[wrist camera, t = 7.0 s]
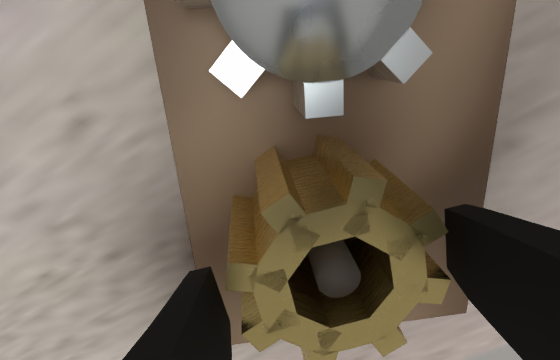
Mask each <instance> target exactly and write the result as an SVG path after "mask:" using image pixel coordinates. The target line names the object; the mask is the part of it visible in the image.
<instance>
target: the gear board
mask: <svg viewBox="0 0 560 360" xmlns="http://www.w3.org/2000/svg"><path fill="white" fill-rule="evenodd" d="M144 4H145V9H146V15H147V20H148V25H149V30H150V35H151V40H152V46H153V51H154V56H155V61H156V66H157V71H158V77H159V82H160V87H161V92H162V97H163V103H164V108H165V113H166V118H167V123H168V128H169V134H170V139H171V144H172V149H173V154H174V159H175V165H176V170H177V175H178V180H179V185H180V191H181V196H182V201H183V206H184V211H185V216H186V222H187V227H188V232H189V237H190V242H191V247H192V253H193V258H194V263H195V268H196V270H197V269H201V268H205V267H209V266H211V268H212V271H213V274H214V277H215V280H216V282H217V285H218V288H219V291H220V294H221V297H222V299H223V302H224V305H225V308H226V311H227V314H228V316H229V319H230V325H231V345H234V344H241V343H248V342H249V341H248V340H247V339H245V338H244V337H243V336H242V335H241V317H242V291H227V290H225V284H226V270H227V256H228V242H229V227H230V214H231V206H232V198H233V195H237V196H246V197H253V196H254V194H255V193H256V191H257V190H258V186H257V177H256V168H255V159H256V158H257V157H259V156H260V155H261V154H263V153H264V152H265V151H267V150H268V149H270V148H271V147H272V146H275V147H276V149H277V150H278V151H279V153H280V154H281V155H282V157H283V158H284V159H285V160H286V161H288V160H292V159H295V158H299V157H303V156H307V155H311V154H313V153H314V148H315V143H316V138H317V134H320V135H327V136H334V137H341V138H342V139H343V140H344V141H345V142H346V143H347V144H348V145H349V146H350V147H352V148H353V149H354V150H355V151H356V152H357V153H358V154H359V155H360V156H361V157H362V158H363V159H365V160H366V161H367V162H368V163H369V162H370V161H372V160H373V159H376V160H377V161H378V162H380V163H381V164H382V165H383V166H384V167H385V168H387V169H388V170H389V171H390V172H391V173H393V174H394V175H395V176H396V177H397V178H399V179H400V180H401V181H402V182H403V183H404V184H406V185H407V186H408V187H409V188H410V189H412V190H413V191H414V192H415V193H416V194H417V195H419V196H420V197H421V198H422V199H423V200H425V201H426V202H427V203H428V204H429V205H431V206H432V207H433V208H434V209H435V210H436V212H437V214H438V215H439V217H440V219H441V220H442V222H443V224H444V225H445V211H444V209H446V208H450V207H454V206H459V205H463V204H469V205H473V206H477V207H481V208H483V205H484V199H485V192H486V186H487V180H488V174H489V168H490V161H491V155H492V149H493V143H494V137H495V130H496V124H497V118H498V112H499V105H500V99H501V93H502V87H503V81H504V74H505V68H506V62H507V56H508V50H509V43H510V37H511V31H512V25H513V19H514V12H515V6H516V0H423V2H422V5H421V7H420V9H419V11H418V13H417V15H416V17H415V20H414V21H413V23H412V24H411V26H410V27H411V29H412V30H413V31H414V32H415V33H416V34H417V35H418V36H419V38H420V39H421V40H422V41H423V42H424V43H425V44H426V46H427V47H428V48H429V49H430V50H431V51H432V52H433V53H432V54H431V55H430V56H429V58H428V59H427V60H426V61H425V62H424V63H423V64H422V65H421V66H420V67H419V68H418V69H417V71H416V72H415V73H414V74H413V75H412V76H411V77H410V78H409V79H408V80H407V81H406V82H405V84H401V83H397V82H392V81H388V80H384V79H379V78H375V77H373V76H372V75H371V74H370V73H369V72H368V71H367V70H365V71H363V72H361V73H359V74H357V75H354V76H352V77H350V78H346V79H343V99H344V115H341V116H330V117H319V118H308V119H306V118H305V117H304V116H303V115H302V114H301V113H300V112H299V111H298V109H297V108H296V107H295V106H294V98H293V81H292V80H288V79H285V78H282V77H280V76H277V75H275V74H272V73H270V72H269V71H267V70H264V71H263V72H262V74H261V75H260V76H259V77H258V79H257V80H256V81H255V82H254V84H253V85H252V86H251V87H250V88H249V90H248V91H247V92H246V93H245V95H244V96H243V97H242V98H241V97H239V96H238V95H237V94H236V93H235V92H233V91H232V90H231V89H230V88H229V87H227V86H226V85H225V84H224V83H223V82H221V81H220V80H219V79H218V78H217V77H215V76H214V75H213V74H212V73H211V72H209V70H210V69H211V67H212V66H213V65H214V63H215V62H216V61H217V60H218V58H219V57H220V56H221V54H222V53H223V52H224V50H225V49H226V48H227V46H228V45H229V44H230V43H231V41H232V39H231V38H230V37H229V35H228V34H227V32H226V31H225V29H224V27H223V26H222V24H221V22H220V21H219V19H218V16H217V14H216V12H215V10H214V7H203V8H189V9H184V8H182V7H180V6H179V5H177V4H176V3H174V2H173V1H171V0H144ZM425 251H426V252H427V253H428V254H429V256H430V257H431V258H432V259H433V260H434V261H435V262H436V263H437V264H438V266H439V267H440V268H441V269H442V270H443V271H444V272H445V273H446V274H447V276H448V277H449V278H450V279H451V282H450V284H449V287H448V289H447V292H446V294H445V297H444V299H443V302H442V304H429V303H417V305H416V306H415V307H414V308H413V309H412V310H411V312H410V313H409V314H408V315H407V316H406V317H405V318H404V320H403V321H410V320H418V319H425V318H432V317H440V316H447V315H454V314H462V313H466V310H467V304H468V298H467V297H466V295H465V294H464V292H463V291H462V290H461V288H460V287H459V285H458V284H457V282H456V281H455V279H454V278H453V276H452V275H451V273H450V272H449V270H448V269H447V262H446V236H445V235H443V236H442V237H440V238H438V239H437V240H435V241H434V242H432V243H431V244H429V245H427V246H426V247H425ZM307 254H308V257H309V260H310V263H311V266H312V269H313V273H314V276H315V279H316V282H317V285H318V288H319V290H320V291H321V292H322V293H323V294H324V295H326V296H328V297H333V298H339V297H344V296H347V295H349V294H350V293H352V292H353V291H354V290H355V289H356V288H357V287H358V285H359V283H360V280H361V273H360V270H359V268H358V266H357V265H356V263H355V261H354V259H353V257H352V255H351V253H350V251H349V249H348V247H347V246H346V244H345V242H344V240H339V241H336V242H332V243H328V244H324V245H320V246H316V247H313V248H311V249H310V251H309V252H308V253H307ZM403 321H402V322H403Z"/></svg>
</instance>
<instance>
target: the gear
mask: <svg viewBox="0 0 560 360" xmlns="http://www.w3.org/2000/svg"><path fill="white" fill-rule="evenodd" d="M171 1H173V2H174V3H176V4H177V5H179V6H180V7H182V8H184V9H189V8H203V7H214V10H215V12H216V14H217V16H218V19H219V21H220V22H221V24H222V26H223V27H224V29H225V31H226V32H227V34H228V35H229V37H230V38H231V39H232V41H231V43H230V44H229V45H228V46H227V48H226V49H225V50H224V52H223V53H222V54H221V56H220V57H219V58H218V60H217V61H216V62H215V63H214V65H213V66H212V67H211V69H210V70H209V72H211V73H212V74H213V75H214V76H215V77H217V78H218V79H219V80H220V81H221V82H223V83H224V84H225V85H226V86H227V87H229V88H230V89H231V90H232V91H233V92H235V93H236V94H237V95H238V96H239V97H241V98H242V97H243V96H244V95H245V93H246V92H247V91H248V90H249V88H250V87H251V86H252V85H253V84H254V82H255V81H256V80H257V79H258V77H259V76H260V75H261V74H262V72H263V71H264V70H267V71H269V72H270V73H272V74H275V75H277V76H280V77H282V78H285V79H288V80H292V81H293V98H294V106H295V107H296V108H297V109H298V111H299V112H300V113H301V114H302V115H303V116H304V117H305V118H306V119H308V118H319V117H330V116H341V115H344V99H343V79H346V78H350V77H352V76H354V75H357V74H359V73H361V72H363V71H365V70H367V71H368V72H369V73H370V74H371V75H372V76H373V77H375V78H379V79H384V80H388V81H392V82H397V83H401V84H405V82H406V81H407V80H408V79H409V78H410V77H411V76H412V75H413V74H414V73H415V72H416V71H417V69H418V68H419V67H420V66H421V65H422V64H423V63H424V62H425V61H426V60H427V59H428V58H429V56H430V55H431V54H432V53H433V52H432V51H431V50H430V49H429V48H428V47H427V46H426V44H425V43H424V42H423V41H422V40H421V39H420V38H419V36H418V35H417V34H416V33H415V32H414V31H413V30H412V29H411V27H410V26H411V24H412V23H413V21H414V20H415V17H416V15H417V13H418V11H419V9H420V7H421V5H422V2H423V0H171Z"/></svg>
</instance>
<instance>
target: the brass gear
mask: <svg viewBox="0 0 560 360" xmlns="http://www.w3.org/2000/svg"><path fill="white" fill-rule="evenodd" d="M255 168H256V177H257V186H258V190H257V191H256V193H255V194H254V196H253V197H246V196H237V195H233V198H232V206H231V214H230V227H229V242H228V256H227V270H226V284H225V290H227V291H242V317H241V335H242V336H243V337H244V338H245V339H247V340H248V341H249V342H250V343H251V344H252V345H253V346H254V347H255V348H256V349H257V350H258V351H259V352H261V351H262V350H264V349H266V348H267V347H269V346H270V345H272V344H273V343H275V342H277V341H278V340H280V339H282V340H285V341H287V342H290V343H292V344H295V345H297V346H300V347H301V349H302V354H303V359H304V360H336V358H337V354H338V352H339V351H343V350H347V349H351V348H354V347H358V346H362V345H366V344H370V343H372V344H373V345H374V346H375V348H376V349H377V350H378V351H379V352H380V353H381V355H382V356H383V357H384V356H385V355H387V354H389V353H390V352H392V351H394V350H396V349H397V348H399V347H401V346H402V345H404V344H406V343H407V340H406V339H405V337H404V335H403V333H402V331H401V330H400V328H399V326H398V325H399V324H400V323H401V322H402V321H403V320H404V318H405V317H406V316H407V315H408V314H409V313H410V312H411V310H412V309H413V308H414V307H415V306H416V305H417V303H429V304H442V302H443V299H444V297H445V294H446V292H447V289H448V287H449V284H450V282H451V279H450V278H449V277H448V276H447V274H446V273H445V272H444V271H443V270H442V269H441V268H440V267H439V266H438V264H437V263H436V262H435V261H434V260H433V259H432V258H431V257H430V256H429V254H428V253H427V252H426V251H425V247H426V246H427V245H429V244H431V243H432V242H434V241H435V240H437V239H438V238H440V237H442V236H443V235H445V234H446V233H448V230H447V229H446V227H445V225H444V224H443V222H442V220H441V219H440V217H439V215H438V214H437V212H436V210H435V209H434V208H433V207H432V206H431V205H429V204H428V203H427V202H426V201H425V200H423V199H422V198H421V197H420V196H419V195H417V194H416V193H415V192H414V191H413V190H412V189H410V188H409V187H408V186H407V185H406V184H404V183H403V182H402V181H401V180H400V179H399V178H397V177H396V176H395V175H394V174H393V173H391V172H390V171H389V170H388V169H387V168H385V167H384V166H383V165H382V164H381V163H380V162H378V161H377V160H376V159H373V160H372V161H370V162H369V163H368V162H367V161H366V160H365V159H363V158H362V157H361V156H360V155H359V154H358V153H357V152H356V151H355V150H354V149H353V148H352V147H350V146H349V145H348V144H347V143H346V142H345V141H344V140H343V139H342V138H341V137H334V136H327V135H320V134H317V138H316V143H315V148H314V153H313V154H311V155H307V156H303V157H299V158H295V159H292V160H288V161H286V160H285V159H284V158H283V157H282V155H281V154H280V153H279V151H278V150H277V149H276V147H275V146H272V147H271V148H270V149H268V150H267V151H265V152H264V153H263V154H261V155H260V156H259V157H257V158H256V159H255ZM339 240H344V242H345V244H346V246H347V247H348V249H349V251H350V253H351V255H352V257H353V259H354V261H355V263H356V265H357V266H358V268H359V270H360V273H361V280H360V283H359V285H358V287H357V288H356V289H355V290H354V291H353V292H352V293H350V294H349V295H347V296H344V297H339V298H333V297H328V296H326V295H324V294H323V293H322V292H321V291H320V290H319V288H318V285H317V282H316V279H315V276H314V273H313V269H312V266H311V263H310V260H309V257H308V254H307V253H308V252H309V251H310V249H311V248H313V247H316V246H320V245H324V244H328V243H332V242H336V241H339Z"/></svg>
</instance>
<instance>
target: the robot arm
mask: <svg viewBox="0 0 560 360" xmlns="http://www.w3.org/2000/svg"><path fill="white" fill-rule="evenodd" d="M444 211H445V227H446V229H447V230H448V233H446V234H445V236H446V262H447V269H448V270H449V272H450V273H451V275H452V276H453V278H454V279H455V281H456V282H457V284H458V285H459V287H460V288H461V290H462V291H463V292H464V294H465V295H466V297H467V298H468V299H469V300H470V301H471V303H472V304H473V305H474V306H475V307H476V308H477V309H478V310H479V312H480V313H481V314H482V315H483V316H484V317H485V318H486V319H487V321H488V322H489V323H490V324H491V325H492V326H493V327H494V328H495V329H496V331H497V332H498V333H499V334H500V335H501V336H502V337H503V338H504V339H505V341H506V342H507V343H508V344H509V345H510V346H511V347H512V348H513V349H514V350H515V351H516V353H517V354H518V355H519V356H520V357H521V358H522V359H523V360H560V230H556V229H553V228H549V227H546V226H542V225H539V224H535V223H532V222H529V221H525V220H522V219H519V218H515V217H512V216H509V215H505V214H502V213H499V212H495V211H492V210H488V209H485V208H481V207H477V206H473V205H469V204H463V205H459V206H454V207H450V208H446V209H444ZM123 360H232V348H231V325H230V319H229V316H228V314H227V311H226V308H225V305H224V302H223V299H222V297H221V294H220V291H219V288H218V285H217V282H216V280H215V277H214V274H213V271H212V268H211V266H209V267H205V268H201V269H197V270H193V271H190V272H189V273H188V274H187V275H186V277H185V278H184V279H183V281H182V282H181V284H180V285H179V286H178V288H177V289H176V291H175V292H174V293H173V295H172V296H171V298H170V299H169V300H168V302H167V303H166V304H165V306H164V307H163V309H162V310H161V311H160V313H159V314H158V315H157V317H156V318H155V319H154V321H153V322H152V323H151V325H150V326H149V327H148V329H147V330H146V331H145V332H144V334H143V335H142V336H141V337H140V339H139V340H138V341H137V342H136V344H135V345H134V346H133V347H132V348H131V350H130V351H129V352H128V353H127V355H126V356H125V357H124V358H123Z"/></svg>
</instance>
